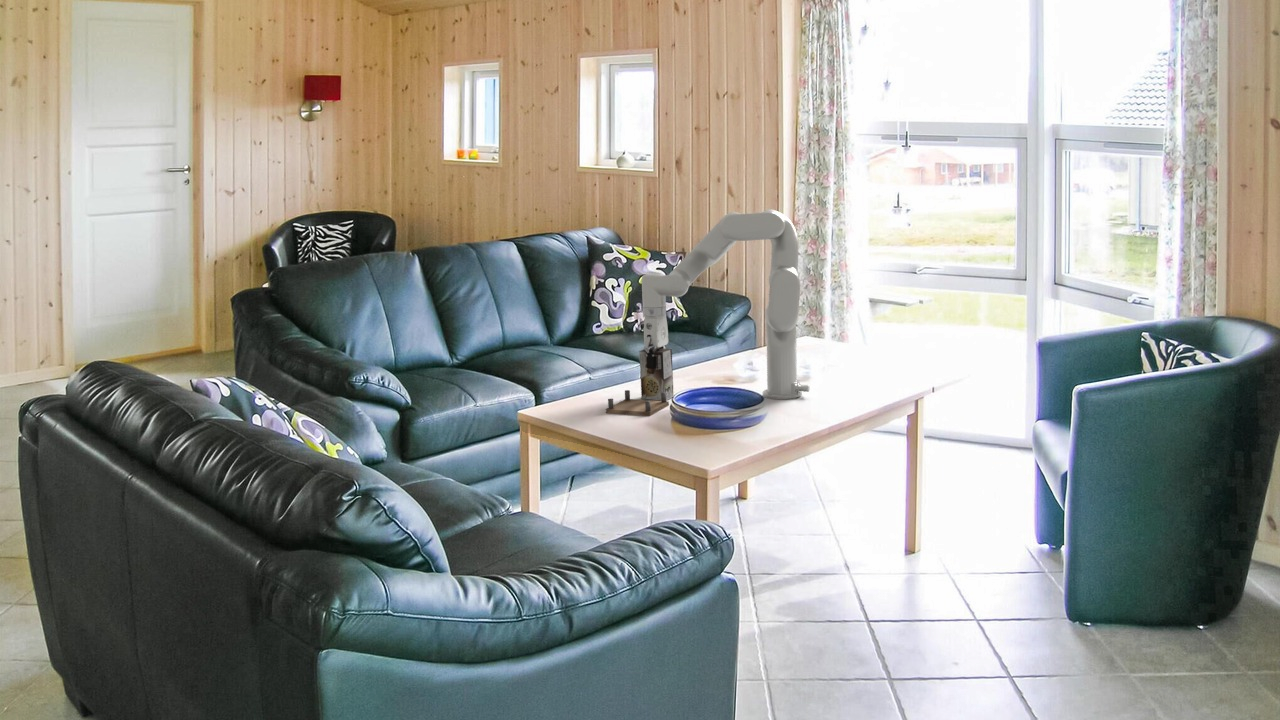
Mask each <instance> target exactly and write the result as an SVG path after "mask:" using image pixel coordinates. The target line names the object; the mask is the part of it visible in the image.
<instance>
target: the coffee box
mask: <svg viewBox="0 0 1280 720" xmlns="http://www.w3.org/2000/svg"><path fill="white" fill-rule="evenodd" d="M651 350H652V352H653V349H651ZM638 353H639V354H638V355H639V369H640V371H639V372H640V375H639V376H640V391H641V392H640V393H641V394H640V395H641V397H640V398H641V399H640V400H653V401H661V393H662V392H666V401H668V400H670V399H673V398H674V397H673V396H674V373H673V371H674V370H673V349H672V348H665V349H664V348H656V353H655V356H656V363H657V368H656V369H648V368H647V357H646V352H645V349H642V350H639V351H638ZM672 397H673V398H672Z"/></svg>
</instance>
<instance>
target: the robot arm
mask: <svg viewBox="0 0 1280 720" xmlns="http://www.w3.org/2000/svg"><path fill="white" fill-rule="evenodd" d="M798 237H799V236H798V234H797V231H796V228H795V226H794V224H793V222H792V221H791V220H790V219H789V218H788V217H787V216H785V214H783V213H782V212H779V210H778V211H777V210H775V209H766V210H763V211H762V212H755V213H754V212H753V213H740V212H737V211H731V212H728V213H726V214H725V215H724V216H723V217H722V218H721V219H720V220H719V221H718V222H717V223H716V224H715V225H714V226H713V228H711V229H710V231H708V232H707V234H706V235H705V236H703V238H702V239H700V241H699V242H698V243H696V245H695V246H694V247H693V249H692V250H691V251H690V252H689V253H688V254H687V255H686V256H685V257H684V258H683V259H682V260H681V261H680V263H678V264H677V265H676V267H674V268H673V270H672V271H671V272H669V274H662V273H659V272H658V273H657V272H652V273H651V272H650V273H645V274H643V275H642V277H641V292H642V293H641V296H642V317H643V318H644V321H643V348H644V349H645V352H646V357H647V368H648V369H656V368H657V363H656V356H655V353H656V348H664V349H666V346H667V345H668V344H669V329H668V328H669V327H668V321H667V297H674V298H680V297H683V296H684V295H686V294H687V293H688V290H689V288H690V286H691V285H692V284H693V283H694V282H695V281H696V280H697V278H698V277H699V276H700V275H701V274H702V273H704V272H705V271H706V270H707V269H708V268H711V266H714V265H716V263H718V262H719V261H720V260H721V259H722V258H723V257H724V255H725V254H726V253H727V252H729V251H730V249H731V248H733V246H734V245H735V244H736V243H737V242H746V241H747V242H748V241H749V242H750V241H764V240H770V243H771V253H770V254H771V259H770V271H769V277H768V285H769V291H768V292H769V293H768V305H766V306H767V307H766V310H765V327H766V329H765V330H766V331H765V332H766V376H767V378H766V382H767V383H766V384H767V389H764V390H763V391H762V396H763V397H764V398H767V399H771V400H772V399H773V400H788V399H789V400H791V399H796V398H800V397H801V396H802V395H803V394H802V393H804V392H805V393H808V392H809V393H810V390H811V389H810V385H808V384H801V383H800V380H797V379H798V373H797V372H798V370H797V369H798V368H797V364H798V363H797V324H798V320H799V310H800V299H801V298H800V296H801V279H800V275H799V272H798V270H799V268H798V267H799V238H798ZM644 349H643V350H644ZM651 349H653V352H652V350H651Z"/></svg>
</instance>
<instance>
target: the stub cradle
mask: <svg viewBox="0 0 1280 720" xmlns="http://www.w3.org/2000/svg"><path fill="white" fill-rule="evenodd" d="M630 392H631V391H630V390H628V389H626V390H624V399H622V400H620V401H619V402H617V403H615V404H614V398H607V403H608V404H607V405H608V406H607V408H606V409H605V413H606V414H615V415H616V414H617V415H630V416H631V415H633V416H645V417H646V416H647V417H651V416H652V415H654V414H656V413H658V412H660V411H662V410H663V409H664V408H666V407H668V406H669V405H670V401H668V400H666V392H662V393H661V400H650V399H633V398H631V393H630Z"/></svg>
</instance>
